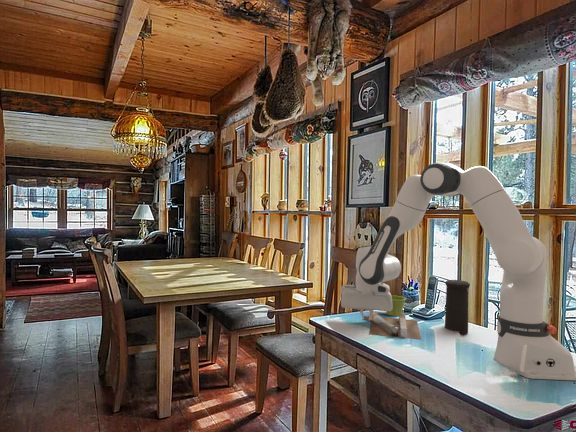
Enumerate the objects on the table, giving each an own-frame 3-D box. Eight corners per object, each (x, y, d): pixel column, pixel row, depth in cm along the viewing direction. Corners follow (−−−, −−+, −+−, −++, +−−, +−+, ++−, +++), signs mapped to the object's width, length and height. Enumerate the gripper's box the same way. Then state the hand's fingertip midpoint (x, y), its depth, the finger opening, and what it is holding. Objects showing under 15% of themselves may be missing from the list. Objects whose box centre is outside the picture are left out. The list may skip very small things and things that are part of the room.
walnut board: (416, 324, 157) (416, 320, 157) (421, 343, 133) (421, 339, 133) (372, 320, 162) (372, 316, 162) (368, 338, 138) (368, 334, 138)
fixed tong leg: (405, 321, 155) (405, 313, 155) (407, 337, 134) (407, 328, 134) (398, 320, 156) (399, 312, 156) (400, 337, 135) (400, 328, 135)
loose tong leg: (375, 319, 157) (375, 312, 157) (399, 336, 136) (399, 328, 136) (369, 319, 157) (369, 312, 157) (393, 336, 135) (393, 328, 135)
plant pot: (380, 318, 165) (380, 298, 165) (386, 313, 173) (386, 294, 173) (402, 321, 160) (402, 301, 160) (407, 316, 168) (407, 297, 168)
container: (473, 333, 146) (474, 281, 146) (460, 337, 141) (461, 283, 141) (452, 327, 153) (453, 277, 153) (439, 331, 148) (440, 279, 148)
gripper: (339, 285, 152) (339, 320, 152) (393, 288, 147) (392, 324, 147) (341, 282, 158) (341, 316, 158) (392, 285, 153) (392, 320, 153)
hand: (366, 320), depth 153 cm, fingers closed
